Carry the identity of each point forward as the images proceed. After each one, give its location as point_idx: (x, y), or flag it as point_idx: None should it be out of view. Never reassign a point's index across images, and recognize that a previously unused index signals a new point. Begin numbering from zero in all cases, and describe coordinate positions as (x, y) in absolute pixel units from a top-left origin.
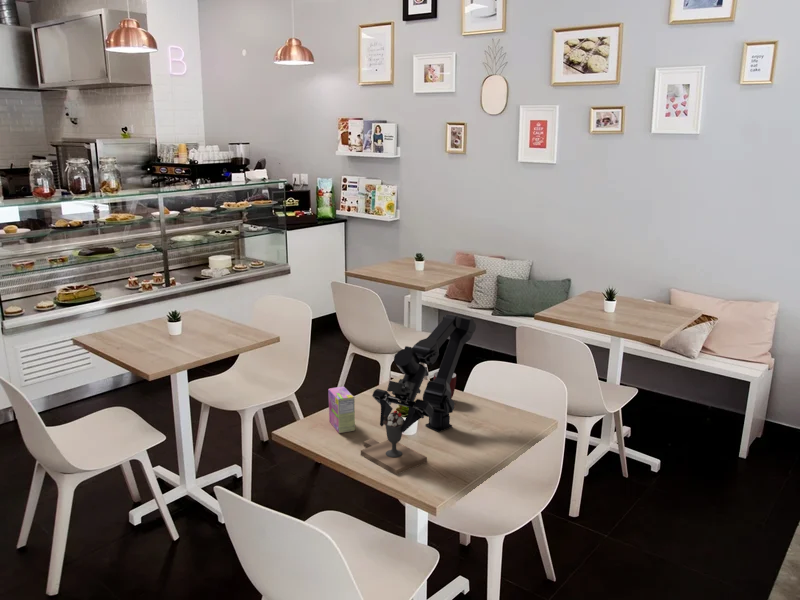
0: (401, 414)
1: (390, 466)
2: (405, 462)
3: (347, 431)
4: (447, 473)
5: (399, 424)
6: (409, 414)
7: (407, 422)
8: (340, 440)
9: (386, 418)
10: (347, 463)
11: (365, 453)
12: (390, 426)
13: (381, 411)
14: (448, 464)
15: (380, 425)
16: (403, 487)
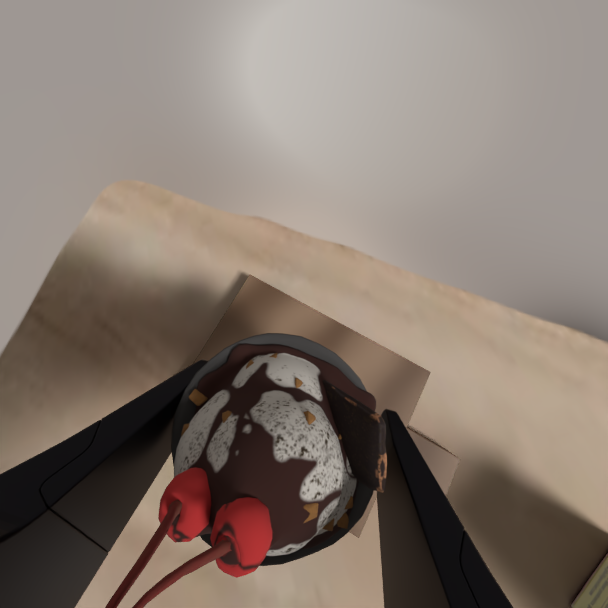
0: (159, 509)
1: (276, 291)
2: (233, 336)
3: (594, 576)
4: (97, 346)
5: (213, 396)
6: (12, 506)
7: (118, 410)
8: (563, 468)
9: (350, 428)
10: (431, 296)
11: (401, 356)
12: (282, 346)
13: (478, 564)
14: (98, 413)
15: (389, 410)
16: (214, 223)
